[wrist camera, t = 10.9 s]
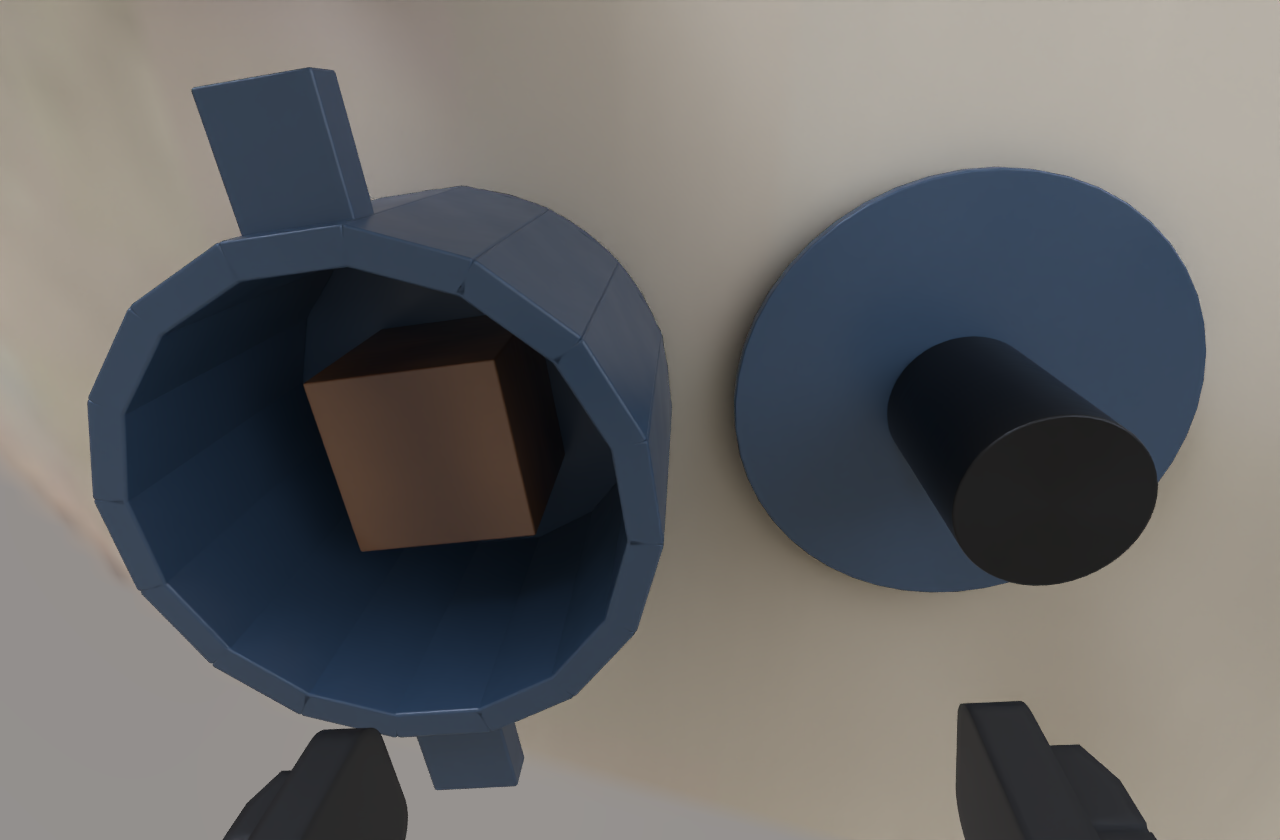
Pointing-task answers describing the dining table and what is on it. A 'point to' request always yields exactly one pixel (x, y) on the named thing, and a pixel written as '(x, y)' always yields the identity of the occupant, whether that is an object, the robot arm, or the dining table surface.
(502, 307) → the pot
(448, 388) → the block
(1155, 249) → the lid
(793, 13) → the dining table surface
